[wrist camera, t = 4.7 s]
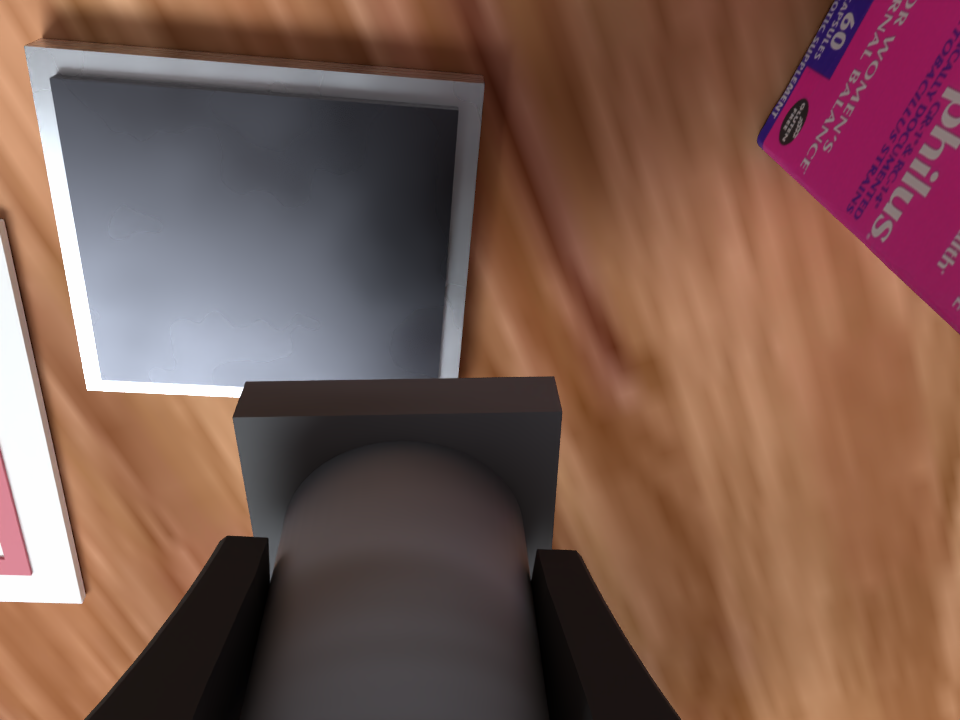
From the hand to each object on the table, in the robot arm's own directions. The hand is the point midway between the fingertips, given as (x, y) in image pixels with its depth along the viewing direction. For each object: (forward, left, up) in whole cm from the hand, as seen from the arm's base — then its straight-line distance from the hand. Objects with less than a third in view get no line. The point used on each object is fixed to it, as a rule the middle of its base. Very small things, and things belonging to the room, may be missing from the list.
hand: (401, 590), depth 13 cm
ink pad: (+2, +3, -9) cm, 10 cm away
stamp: (0, 0, -2) cm, 2 cm away
